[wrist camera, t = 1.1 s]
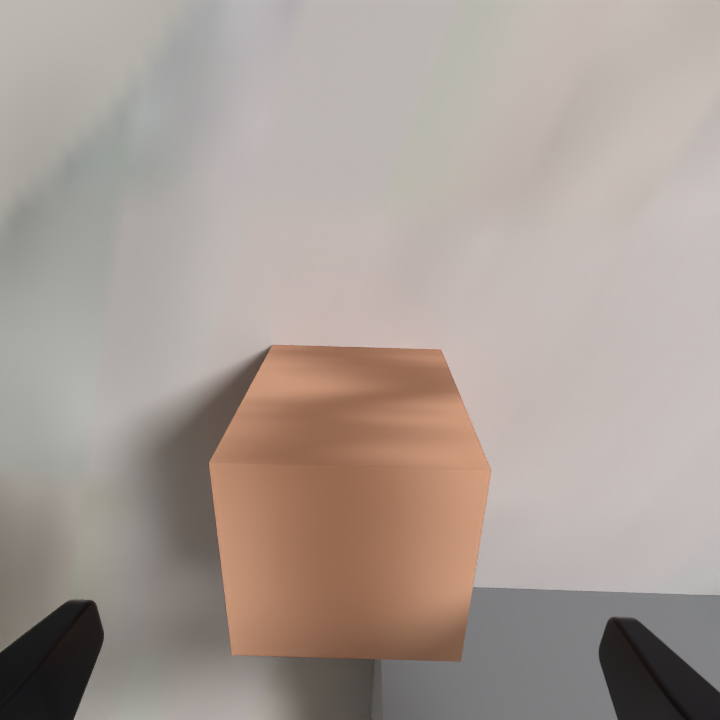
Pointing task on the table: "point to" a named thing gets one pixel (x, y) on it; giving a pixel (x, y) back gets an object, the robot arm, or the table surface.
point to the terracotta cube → (350, 506)
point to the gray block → (541, 656)
